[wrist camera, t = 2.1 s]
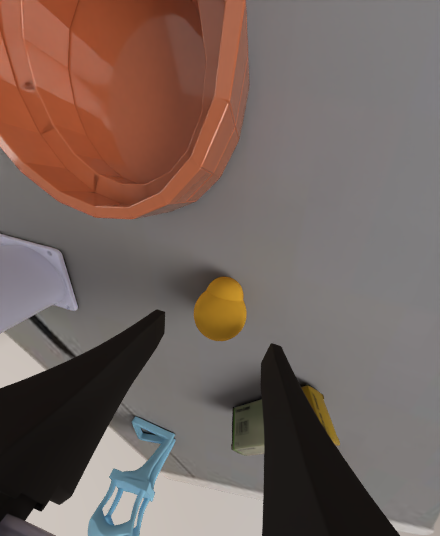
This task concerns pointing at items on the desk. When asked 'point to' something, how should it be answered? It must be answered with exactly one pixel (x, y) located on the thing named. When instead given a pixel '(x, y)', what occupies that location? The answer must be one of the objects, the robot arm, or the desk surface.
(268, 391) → the robot arm
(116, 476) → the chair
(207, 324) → the blob
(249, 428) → the medication box
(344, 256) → the desk surface
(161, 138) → the bowl
